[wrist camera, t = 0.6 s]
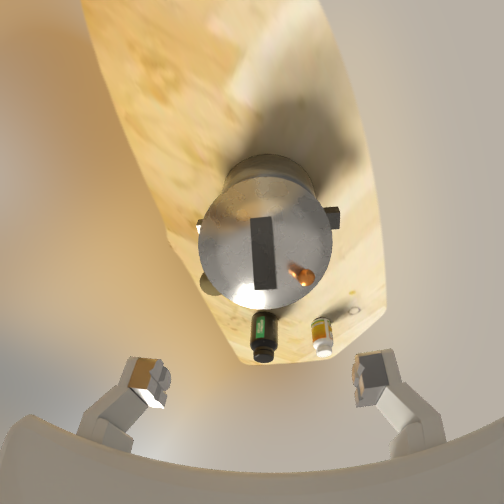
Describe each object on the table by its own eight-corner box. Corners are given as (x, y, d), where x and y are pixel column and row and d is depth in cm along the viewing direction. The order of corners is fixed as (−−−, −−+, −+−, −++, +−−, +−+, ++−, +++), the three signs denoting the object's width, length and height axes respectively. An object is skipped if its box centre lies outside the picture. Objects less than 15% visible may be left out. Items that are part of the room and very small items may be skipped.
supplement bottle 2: (307, 326, 74) (310, 357, 67) (316, 315, 71) (320, 347, 63) (324, 329, 75) (328, 359, 68) (334, 319, 72) (338, 350, 64)
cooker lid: (201, 189, 36) (192, 179, 33) (322, 176, 34) (324, 164, 31) (204, 311, 34) (195, 313, 30) (336, 303, 32) (341, 304, 28)
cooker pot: (198, 163, 45) (182, 192, 37) (328, 149, 42) (342, 175, 34) (218, 237, 55) (210, 274, 47) (328, 227, 52) (338, 264, 44)
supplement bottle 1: (254, 309, 70) (252, 350, 61) (280, 313, 70) (281, 354, 61) (249, 323, 74) (246, 362, 65) (273, 327, 75) (273, 366, 66)
